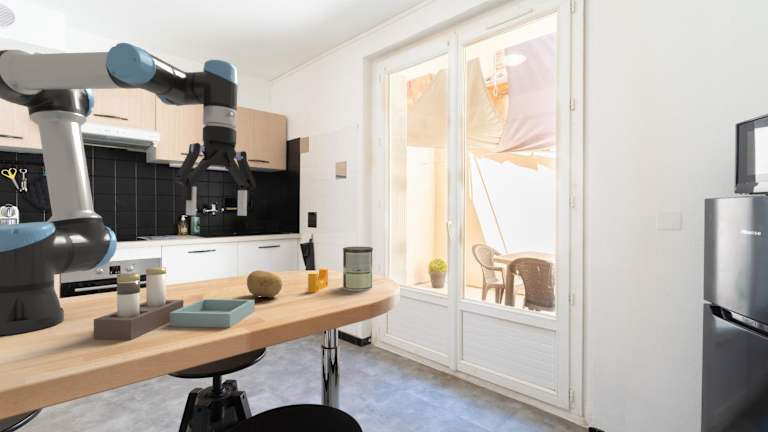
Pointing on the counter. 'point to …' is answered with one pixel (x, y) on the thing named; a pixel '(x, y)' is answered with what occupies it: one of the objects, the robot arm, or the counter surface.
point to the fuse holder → (134, 322)
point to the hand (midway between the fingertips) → (218, 215)
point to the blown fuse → (128, 295)
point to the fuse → (156, 287)
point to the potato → (264, 284)
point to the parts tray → (212, 313)
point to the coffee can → (357, 268)
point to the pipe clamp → (317, 281)
